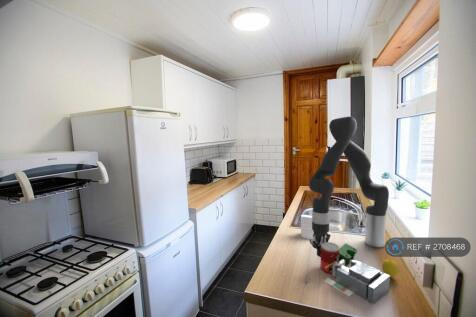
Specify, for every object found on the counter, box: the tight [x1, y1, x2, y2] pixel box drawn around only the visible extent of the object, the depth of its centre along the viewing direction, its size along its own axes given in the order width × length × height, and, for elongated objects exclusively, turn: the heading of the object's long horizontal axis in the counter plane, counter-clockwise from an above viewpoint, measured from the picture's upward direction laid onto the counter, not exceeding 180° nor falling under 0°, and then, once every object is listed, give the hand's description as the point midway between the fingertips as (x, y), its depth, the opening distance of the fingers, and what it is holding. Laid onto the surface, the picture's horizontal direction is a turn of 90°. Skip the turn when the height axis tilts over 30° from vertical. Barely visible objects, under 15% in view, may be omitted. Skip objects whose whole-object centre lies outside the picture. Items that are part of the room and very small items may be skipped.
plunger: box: [325, 259, 350, 278], centre depth 96 cm, size 14×8×7 cm, turn 124°
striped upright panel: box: [323, 277, 355, 297], centre depth 92 cm, size 3×11×1 cm, turn 34°
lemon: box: [381, 258, 399, 278], centre depth 97 cm, size 6×6×8 cm
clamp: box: [339, 242, 358, 265], centre depth 111 cm, size 12×6×9 cm, turn 126°
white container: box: [300, 214, 314, 240], centre depth 138 cm, size 9×9×12 cm
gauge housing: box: [335, 258, 391, 305], centre depth 92 cm, size 12×14×8 cm
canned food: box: [320, 241, 340, 275], centre depth 104 cm, size 8×8×11 cm
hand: (319, 256), depth 108 cm, fingers closed
